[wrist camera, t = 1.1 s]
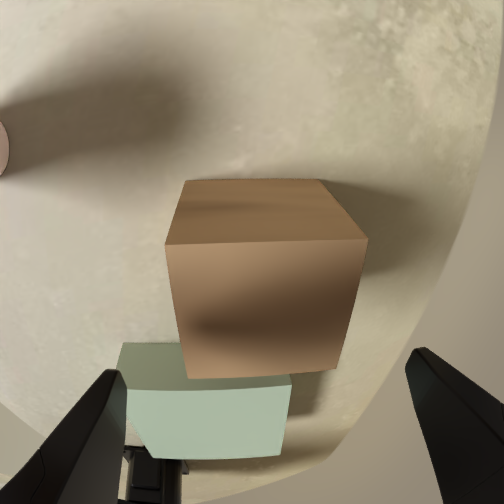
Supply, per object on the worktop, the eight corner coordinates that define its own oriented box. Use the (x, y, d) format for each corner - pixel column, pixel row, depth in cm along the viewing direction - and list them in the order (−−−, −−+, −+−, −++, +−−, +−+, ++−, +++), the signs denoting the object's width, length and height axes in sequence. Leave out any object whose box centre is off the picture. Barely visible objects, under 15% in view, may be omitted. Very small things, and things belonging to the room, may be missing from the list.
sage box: (273, 414, 25) (280, 454, 21) (156, 418, 24) (152, 457, 21) (281, 334, 20) (291, 384, 16) (124, 339, 19) (111, 388, 15)
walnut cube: (305, 284, 18) (335, 368, 12) (195, 289, 17) (188, 378, 12) (317, 178, 14) (368, 239, 9) (185, 180, 14) (164, 244, 9)
